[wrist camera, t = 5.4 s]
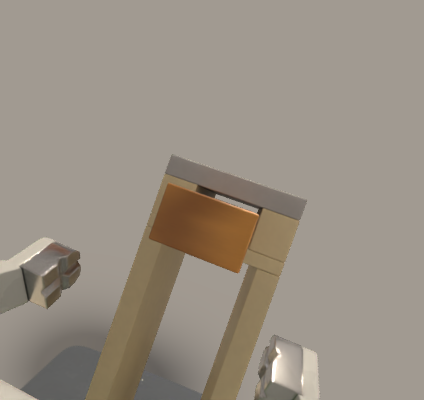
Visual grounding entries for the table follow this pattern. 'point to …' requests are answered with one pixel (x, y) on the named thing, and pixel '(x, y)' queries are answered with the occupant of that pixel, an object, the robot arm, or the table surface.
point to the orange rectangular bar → (204, 227)
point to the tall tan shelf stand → (166, 276)
